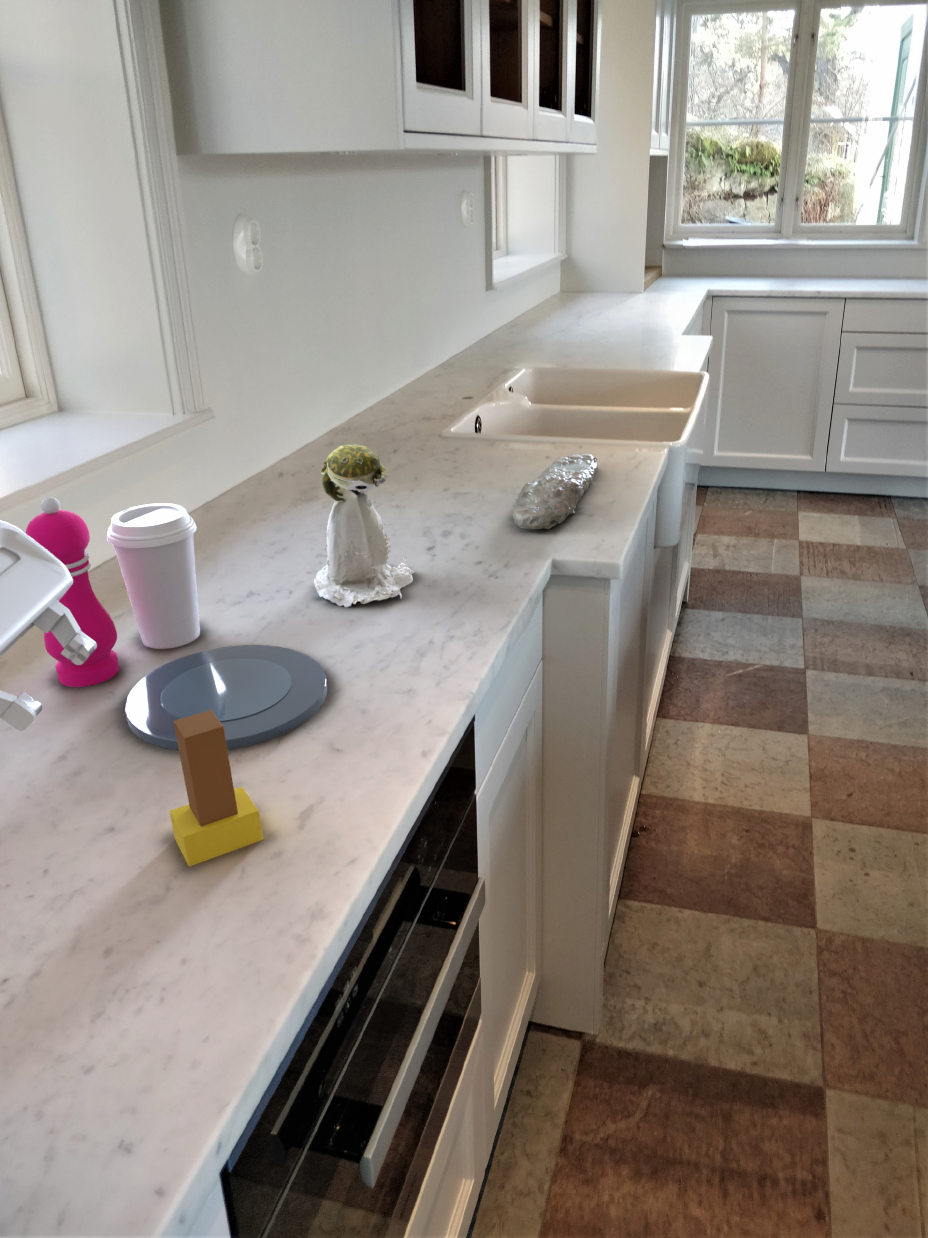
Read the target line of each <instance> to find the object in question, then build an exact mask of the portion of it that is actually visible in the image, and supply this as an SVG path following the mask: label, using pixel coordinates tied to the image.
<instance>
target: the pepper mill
mask: <svg viewBox="0 0 928 1238" xmlns="http://www.w3.org/2000/svg"><path fill="white" fill-rule="evenodd" d="M40 508H41V510H42V512H41V513H39V514H37V515H35V517H33V518H32V519H31V520H30V521H29V522H28V524H27V526H26V528H25V533H26V534H27V535H28V536H30V537H31V538H32V539H34V540H35V541H36V542H38V543H39V544H40V545H41V546H43V547H44V548H45V549H47V550H48V551H49V552H50V553H51V554H53V555H54V556H55V557H56V558H57V559H59V560H60V561H61V562H62V563H63V564H64V565H65V566H66V567H67V569H68V571H69V572H70V574H71V576H72V579H73V584H72V585H71V587H70V588H69V589H68V590H67V592H66V593H65V594H64V596H63V597H62V598H61V599H60V600H59V602H60V603H61V604H63V605H64V606H65V607H67V608H68V609H69V610H70V612H71V614H72V615H73V617H74V619H75V620H76V622H77V624H78V626H79V627H80V629H81V631H82V632H83V633H85V634H86V635H87V636H88V637H90V638H91V639H92V640H94V641H95V642H96V644H97V648H96V649H95V650H94V651H93V653H92V654H91V655H90V656H89V657H88V658H87V660H86V661H85V662H84V663H83V664H81V665H76V664H74V663H73V662H72V661H71V659H67V658H66V657H65V656H63V655H62V654H61V652H62V651H63V650H64V649H65V648H63V646H62V645H61V644H60V642H59V641H58V640H57V638H56V637H55V636H54V634H53V633H52V632H51V631H49V632H48V633H45V632H44V631H43V642H44V647H45V650H46V652H47V654H48V655H49V656H51V657H52V659H55V660H56V661H57V662H56V664H55V671H56V675H57V679H58V682H59V683H60V684H61V685H63V686H66V687H71V688H83V687H90V686H95V685H99V684H101V683H103V682H106V681H108V680H110V679H111V678H113V677H114V676H115V675H117V674H118V672H119V671H120V664H119V658H118V655H117V652H116V651H115V650H113V648H114V646H115V645H116V643H117V640H118V632H117V628H116V625H115V622H114V620H113V619H112V616H111V615H110V614H109V612H108V611H107V610H106V609H105V608H104V606H103V605H102V604H101V602H100V600H99V599H98V598H97V596H96V594H95V592H94V590H93V587H92V585H91V580H90V576H89V569H90V568H91V567H92V563H91V561H90V560H89V559H90V555H89V553H88V552H86V549H87V547H88V545H89V543H90V539H91V537H90V531H89V528H88V525H87V523H86V522H85V520H84V519H83V518H82V517H81V516H80V515H78V514H77V513H74V512H73V511H70V510H66V509H61V502H60V501H59V499H57V498H55V497H53V496H47V497H45V498H43V499H42V500H41V503H40Z"/></svg>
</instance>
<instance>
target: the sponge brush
mask: <svg viewBox="0 0 928 1238" xmlns="http://www.w3.org/2000/svg"><path fill="white" fill-rule="evenodd" d="M173 723H174V728H175V733H176V738H177V743H178V749H179V751H178V755H179V759H180V764H181V769H182V774H183V779H184V784H185V785H184V786H185V790H186V795H187V801H188V804H185V805H182V806H179V807H176V808H173V809H171V810H169V817H170V821H171V826H172V830H173V831H172V832H173V836H174V841H175V842H176V844H177V846H178V848H179V850H180V853H181V854H182V856H183V858H184V860H185V862H186V864H187V866H188V867H192V866H195V865H198V864H200V863H204V862H206V861H208V860H212V859H215V858H218V857H219V856H222V855H225V854H229V853H231V852H233V851H236V850H239V849H241V848H245V847H247V846H249V845H253V844H255V843H259V842H261V841H263V840H264V836H263V831H262V830H263V829H262V824H261V817H260V811H259V809H258V808H257V806H256V804H255V803H254V802H253V800H252V799H251V797H250V796H249V794H248V793H247V791H246V790H245V788H244V787H243V786H239V787H237V788H236V787H235V785H234V782H233V781H234V780H233V774H232V771H231V770H232V769H231V768H232V767H231V762H230V758H229V750H227V744H226V738H225V732H224V727H223V725H222V724H221V722H220V721H219V720H218V718H217V717H216V715H215V714H214V713H213V711H212V710H209V711H206V712H202V713H199V714H196V715H192V716H189V717H185V718H182V719H179V720H175V721H173Z"/></svg>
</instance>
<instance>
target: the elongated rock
mask: <svg viewBox="0 0 928 1238" xmlns="http://www.w3.org/2000/svg"><path fill="white" fill-rule="evenodd" d="M597 460H598V458H597V457H596V456H593V455H592V454H590V453H583V452H582V453H579V454H577V453H574V454H573V453H572V454H570V455H569V454H568V455H566V456H563V457H559V458H557V459H555V460H554V461H553V462H552V464H551V465H550V466H548V467H547V468H545V470H544V471H542V472H541V474H540V475H539V476H538V477H537V478H536V479H533V480H532V481H530V482H526V483H525V484H524V485H523V486H522V488H521V489H520V491H519V493H518V497H517V498H516V499H515V502H514V504H513V505H512V506H513V510H512V515H511V516H512V520H513V522H514V524H515V525H516V526H517V527H518V528H519V529H522V530H524V529H526V530H542V529H546V530H550V529H551V528H553V527H556V526H557V524H562V523H563V522H564V521H565V520H566V519H567V518H568V516H571V515H575V514H576V512H575V510H576V509H577V504H578V503H579V502H580V501H581V499H582V497H583V496H584V494H585V492H586V491H587V490H589V487H590V485H593V481H594V479H595V476H596V475H597V473H598V469H599V468H598V461H597Z"/></svg>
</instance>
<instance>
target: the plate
mask: <svg viewBox="0 0 928 1238" xmlns="http://www.w3.org/2000/svg"><path fill="white" fill-rule="evenodd" d="M327 680H328V679H327V675H326V672H325V670H324V668H323V667H322V665H321V664H320V663H319V662H318V661H317V660H315V659H314V658H313V657H311V656H310V655H307V654H306V653H303V652H301V651H300V650H295V649H292V648H289V647H288V648H287V647H282V646H277V645H269V644H267V645H266V644H241V645H239V644H238V645H229V646H222V647H216V648H212V649H205V650H202V651H197V652H195V653H191V654H188V655H185V656H183V657H180V658H177V659H174V660H172V661H169V662H168V663H165V664H163V665H161V666H159V667H157V668H156V669H154V670H152V671H151V672H149V673H148V674H146V675H145V676H144V677H143V678H141V679H139V681H138V682H137V683H136V684H135V685H134V686H133V687H132V688H131V690H130V691H129V693H128V695H127V697H126V699H125V703H124V714H125V719H126V721H127V726H128V727H129V729H130V730H131V732H132V733H133V734H134V735H135V736H137V738H139V739H141V740H142V741H144V742H146V743H147V744H151V745H153V746H155V747H159V748H162V749H166V750H171V751H178V752H179V749H178V743H177V738H176V733H175V728H174V723H173V721H175V720H179V719H182V718H185V717H189V716H192V715H196V714H199V713H202V712H206V711H209V710H212V711H213V713H214V714H215V715H216V717H217V718H218V720H219V721H220V722H221V724H222V725H223V727H224V732H225V738H226V744H227V750H228V751H229V750H235V749H239V748H244V747H245V748H246V747H249V746H253V745H257V744H260V743H265V742H267V741H269V740H272V739H275V738H277V737H279V736H281V735H284V734H286V733H288V732H290V731H292V730H294V729H296V728H297V727H299V726H301V725H302V724H303V723H305V722H307V721H308V720H309V719H310V718H311V717H312V716H314V715H315V714H316V712H317V711H318V710H319V709H320V708H321V707H322V706H323V704H324V702H325V700H326V697H327V695H328V681H327Z"/></svg>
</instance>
